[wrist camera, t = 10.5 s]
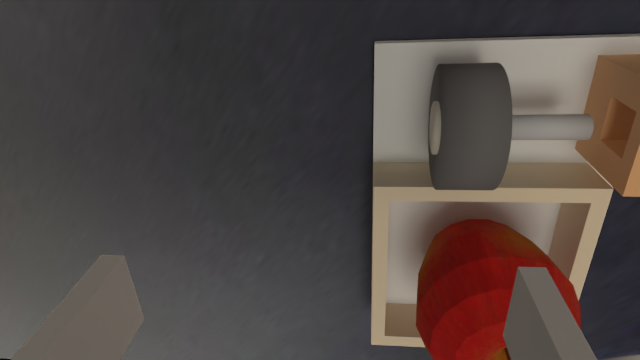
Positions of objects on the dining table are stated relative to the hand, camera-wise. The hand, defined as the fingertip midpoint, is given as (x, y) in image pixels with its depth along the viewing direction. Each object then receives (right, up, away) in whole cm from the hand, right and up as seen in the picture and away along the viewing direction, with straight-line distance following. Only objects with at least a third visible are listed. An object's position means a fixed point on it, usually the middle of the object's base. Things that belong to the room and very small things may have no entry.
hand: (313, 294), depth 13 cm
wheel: (+11, +8, +14) cm, 19 cm away
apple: (+11, -1, +19) cm, 22 cm away
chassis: (+12, +2, +18) cm, 22 cm away
